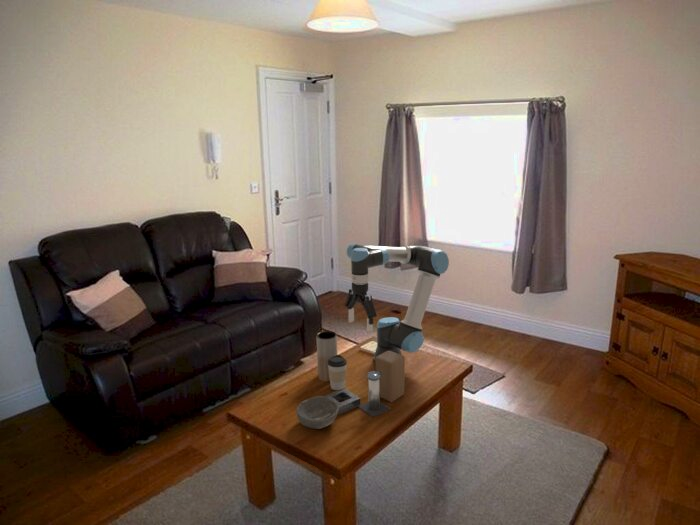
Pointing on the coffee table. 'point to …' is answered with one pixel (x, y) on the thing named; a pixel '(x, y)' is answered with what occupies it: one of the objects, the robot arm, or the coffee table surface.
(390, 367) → the wooden block
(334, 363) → the coffee cup
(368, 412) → the mat
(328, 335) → the planter
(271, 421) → the coffee table surface
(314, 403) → the bowl
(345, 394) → the frame
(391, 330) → the robot arm
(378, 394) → the silver domed cylinder
